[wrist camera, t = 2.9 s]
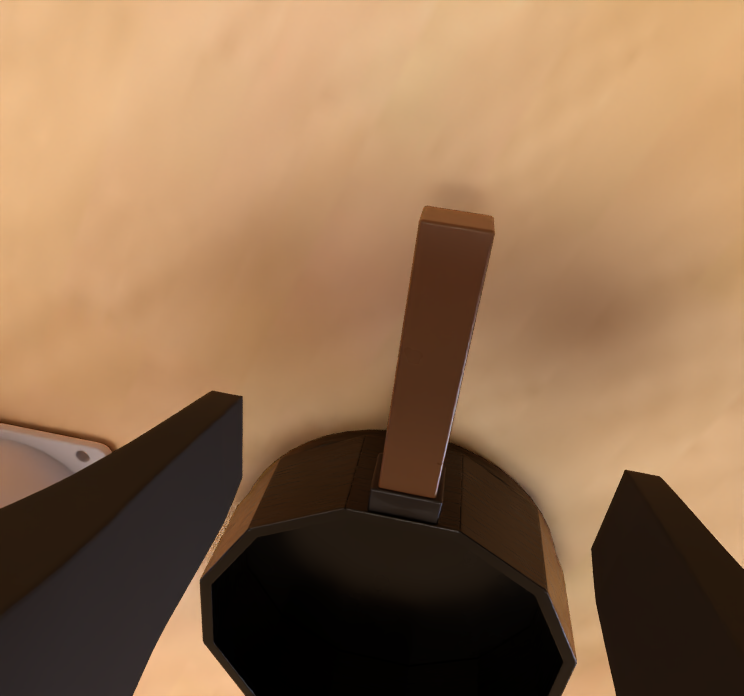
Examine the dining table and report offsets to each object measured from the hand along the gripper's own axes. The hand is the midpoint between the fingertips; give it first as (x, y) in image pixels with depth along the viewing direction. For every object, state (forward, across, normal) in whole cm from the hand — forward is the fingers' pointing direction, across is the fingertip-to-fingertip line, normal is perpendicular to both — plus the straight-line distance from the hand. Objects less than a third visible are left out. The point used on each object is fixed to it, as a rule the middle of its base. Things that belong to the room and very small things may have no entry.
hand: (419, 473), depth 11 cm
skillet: (+7, 0, +6) cm, 10 cm away
